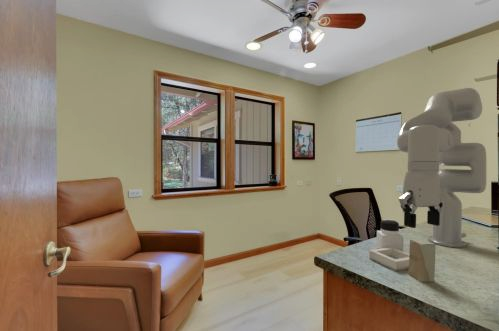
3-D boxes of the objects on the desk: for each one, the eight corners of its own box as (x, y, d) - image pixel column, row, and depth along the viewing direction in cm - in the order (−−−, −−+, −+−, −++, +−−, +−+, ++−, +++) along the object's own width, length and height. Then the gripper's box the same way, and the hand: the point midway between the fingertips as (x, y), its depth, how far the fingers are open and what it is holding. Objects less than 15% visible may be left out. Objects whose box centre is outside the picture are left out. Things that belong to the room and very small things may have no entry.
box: (408, 274, 74) (408, 238, 74) (421, 273, 74) (421, 238, 74) (421, 282, 69) (422, 244, 69) (435, 282, 69) (436, 243, 69)
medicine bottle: (403, 255, 89) (403, 223, 88) (382, 254, 90) (382, 222, 90) (395, 249, 96) (396, 219, 95) (376, 247, 97) (376, 218, 97)
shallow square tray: (391, 255, 89) (391, 247, 89) (419, 266, 79) (419, 257, 79) (369, 258, 86) (369, 250, 86) (395, 271, 76) (396, 261, 76)
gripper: (430, 168, 77) (429, 221, 77) (389, 167, 72) (388, 224, 72) (456, 168, 70) (455, 227, 70) (414, 167, 65) (413, 231, 65)
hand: (421, 225), depth 71 cm, fingers open, 9 cm apart
